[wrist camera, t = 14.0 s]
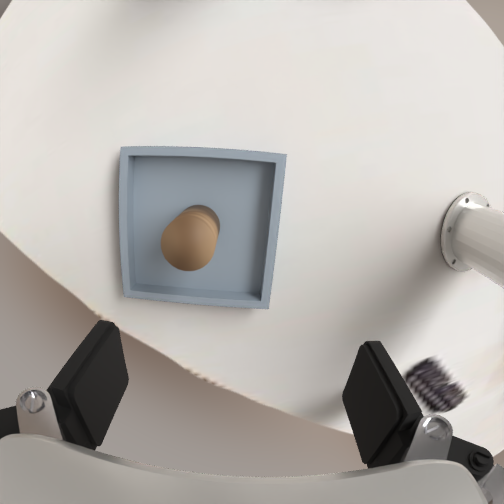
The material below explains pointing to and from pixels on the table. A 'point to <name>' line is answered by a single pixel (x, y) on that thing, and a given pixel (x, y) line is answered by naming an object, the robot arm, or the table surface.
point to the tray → (215, 197)
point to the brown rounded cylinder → (191, 238)
